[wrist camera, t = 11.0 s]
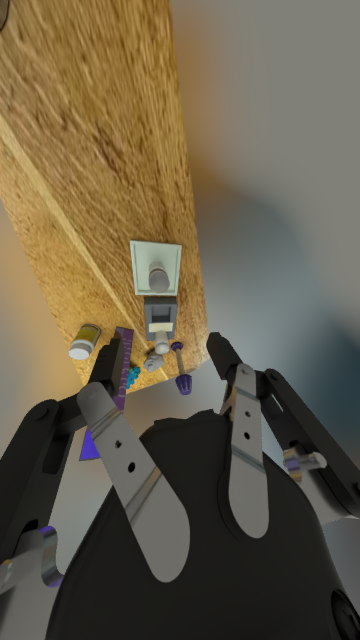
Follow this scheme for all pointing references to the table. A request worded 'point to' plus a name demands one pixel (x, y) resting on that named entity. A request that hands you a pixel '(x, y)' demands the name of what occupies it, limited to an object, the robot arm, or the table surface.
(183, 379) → the toy lamp
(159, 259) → the pale green flat frame
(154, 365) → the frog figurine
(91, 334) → the supplement bottle
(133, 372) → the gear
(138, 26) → the table surface
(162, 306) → the fuse block
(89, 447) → the cereal box
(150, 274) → the cylinder
